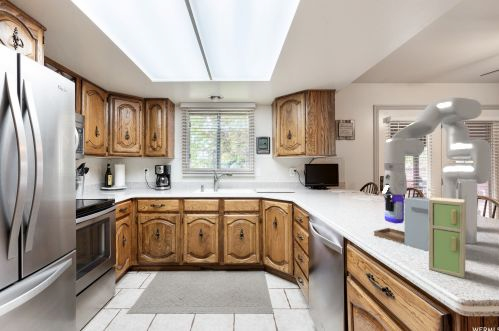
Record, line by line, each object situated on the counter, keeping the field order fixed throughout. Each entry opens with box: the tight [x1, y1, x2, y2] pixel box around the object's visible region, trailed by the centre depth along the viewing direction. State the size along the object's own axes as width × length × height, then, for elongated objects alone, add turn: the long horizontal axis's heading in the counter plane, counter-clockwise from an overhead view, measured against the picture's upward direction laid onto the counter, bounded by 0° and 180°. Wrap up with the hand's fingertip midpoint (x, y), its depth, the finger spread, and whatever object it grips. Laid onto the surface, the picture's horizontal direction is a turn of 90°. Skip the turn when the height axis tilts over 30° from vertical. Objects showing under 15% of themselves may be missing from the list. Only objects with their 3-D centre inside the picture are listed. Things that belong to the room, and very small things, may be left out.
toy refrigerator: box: [428, 196, 466, 279], centre depth 69 cm, size 8×7×21 cm
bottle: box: [384, 193, 405, 224], centre depth 99 cm, size 7×6×17 cm
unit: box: [404, 196, 431, 252], centre depth 87 cm, size 9×12×18 cm
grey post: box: [455, 179, 479, 245], centre depth 94 cm, size 6×6×25 cm
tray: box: [373, 227, 405, 244], centre depth 99 cm, size 10×11×2 cm
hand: (394, 209), depth 99 cm, fingers closed on bottle, 5 cm apart
